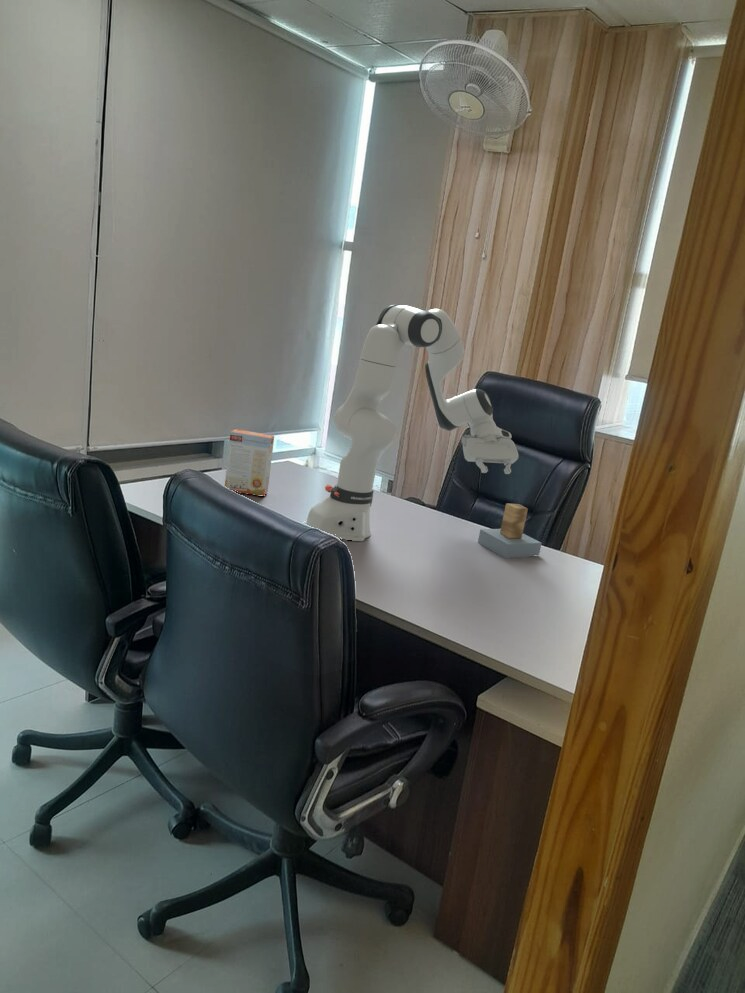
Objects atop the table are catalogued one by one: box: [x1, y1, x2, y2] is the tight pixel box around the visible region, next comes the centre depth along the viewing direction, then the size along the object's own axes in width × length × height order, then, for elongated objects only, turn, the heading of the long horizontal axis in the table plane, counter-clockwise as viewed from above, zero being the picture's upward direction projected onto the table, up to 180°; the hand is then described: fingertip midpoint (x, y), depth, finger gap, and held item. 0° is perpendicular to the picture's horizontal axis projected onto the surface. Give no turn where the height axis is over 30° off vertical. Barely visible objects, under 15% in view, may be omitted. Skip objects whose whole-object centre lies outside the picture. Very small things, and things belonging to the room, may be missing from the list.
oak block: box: [500, 503, 529, 538], centre depth 251 cm, size 5×5×10 cm
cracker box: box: [224, 428, 275, 496], centre depth 267 cm, size 14×6×21 cm, turn 84°
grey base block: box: [477, 528, 542, 559], centre depth 253 cm, size 14×14×5 cm
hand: (496, 472), depth 258 cm, fingers open, 8 cm apart
